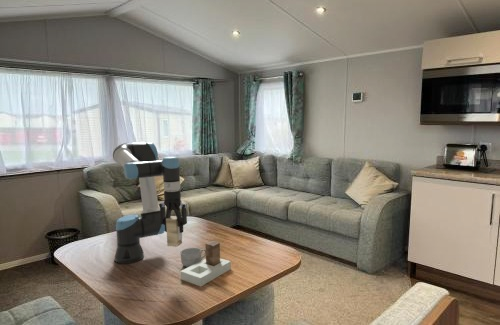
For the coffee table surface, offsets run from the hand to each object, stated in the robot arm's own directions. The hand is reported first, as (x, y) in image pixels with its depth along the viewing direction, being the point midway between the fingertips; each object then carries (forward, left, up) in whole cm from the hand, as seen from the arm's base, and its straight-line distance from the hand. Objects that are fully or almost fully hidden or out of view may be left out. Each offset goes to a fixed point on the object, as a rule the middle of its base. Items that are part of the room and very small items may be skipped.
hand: (174, 238), depth 158 cm
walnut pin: (+9, +16, -19) cm, 27 cm away
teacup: (-3, +16, -20) cm, 25 cm away
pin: (0, 0, -3) cm, 3 cm away
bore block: (+9, +11, -19) cm, 24 cm away
